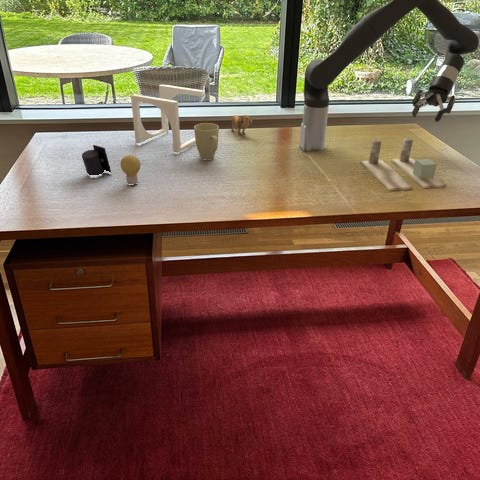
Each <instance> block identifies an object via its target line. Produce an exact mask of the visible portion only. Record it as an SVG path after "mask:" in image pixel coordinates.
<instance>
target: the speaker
mask: <svg viewBox="0 0 480 480" xmlns="http://www.w3.org/2000/svg"><path fill="white" fill-rule="evenodd" d="M81 158H82V162H83V164H84V167H85V171H86V174H87V173H88V174H89V175H99V174H102V173H103V172H104V170H106V171H109V172H111V173H112V170H111V166H110V161H109V159H108V155H107V151H106V148H105V147H103V146H101V145H100V146H99V145H95V144H93V145H92V149H89V150H85V151H84V152H82V153H81Z"/></svg>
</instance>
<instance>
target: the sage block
mask: <svg viewBox="0 0 480 480" xmlns="http://www.w3.org/2000/svg"><path fill="white" fill-rule="evenodd" d="M414 160H415V165H414V170H413V174H414V175H416V176H417V177H418V178H419V179H427V178H434V175H435V173H436V168H437V165H438V164H437V163H436V162H434V161H433V160H432V159H430V158H420V159H414Z"/></svg>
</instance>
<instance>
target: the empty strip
mask: <svg viewBox="0 0 480 480" xmlns="http://www.w3.org/2000/svg"><path fill="white" fill-rule="evenodd" d="M370 147H371V148H370V154H369V160H360V164H361V165H362V166H363V167H364V168H365V169H366V170H367V171H368V172H369V173H371V175H372V176H374V178H375V179H376V180H378V181H379V182H380V183H381V184H382V185H383V186H384V187H385V188H386V189H387V190H388V191H392V192H393V191H402V190H403V191H404V190H405V191H406V190H412V189H413V185H411V184H410V183H409V182H408V181H406V179H404V178H403V177H402V176H401V175H399V173H397V172H396V171H395V170H394V169H393V168H392V167H391V166H389V164H387V163H386V162H385V161H383V160H382V159H380V153H381V147H382V140H380V139H372V141H371V146H370Z"/></svg>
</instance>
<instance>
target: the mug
mask: <svg viewBox="0 0 480 480" xmlns="http://www.w3.org/2000/svg"><path fill="white" fill-rule="evenodd" d="M193 129H194V131H193V132H194V138H195V140H196V145H195V146H196V149H197V151H198V155H199V157H200V159H201V158H202V159H206V160H205V161H209V160H208V159H212V160H213V159H214V158H215V155H216V151H217V150H218V146H219V130H220V127H219V125H218V124H215V123H211V122H203V123H198V124H195V125H194V126H193ZM202 159H201V160H202Z"/></svg>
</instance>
